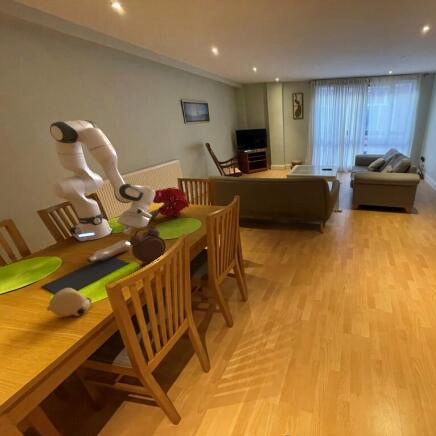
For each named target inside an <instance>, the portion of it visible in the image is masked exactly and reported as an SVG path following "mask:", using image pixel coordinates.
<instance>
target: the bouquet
mask: <svg viewBox="0 0 436 436" xmlns="http://www.w3.org/2000/svg"><path fill="white" fill-rule="evenodd" d="M154 191H155V197H154V200H153V202H152V204H153V203H154V204H162V205H161V206H159V207H158V208H157V209H154V210H152V211H150V212H148V213H149V214H150V215H152V216H151V218H149V220H154V219H155V218H157V216H158V215H159V214H160V215H162V216H164V217H171V216H175V217H176V218H178V216H180V214H181V212H182V211H183V210H185V209H186V208H190V204H189V202H188V199H187V195H186V193H185V192H184V191H182V190H180V189H179V188H176V187H175V186H173V187H167V188H162V189H157V190H154Z"/></svg>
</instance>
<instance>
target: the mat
mask: <svg viewBox="0 0 436 436" xmlns="http://www.w3.org/2000/svg"><path fill="white" fill-rule="evenodd" d="M127 265H129V261H128V262H127V261H124V260H121V259H119V258H115V257H111V258H109V259H108V260H106V261H104V262H96V263H94V264H90V263H88V264H86V265H84V266H82V267H79V268H78V269H75V270H74V271H71V272H69V273H67V274H66V275H63V276H60V277H58V278H56V279H54V280H52V281H50V282H48V283H46V284H44V285H41V288H43V289H45V290H48V291H49V292H51V293H53V294H54V295H55V294H56V293H57V292H59V291H61V290H63V289H65V288H72V289H74V290H76V291H78V292H79V291H80V290H82V289H83V288H85V287H87V286H89V285H91V284H93V283H94V282H96V281H98V280H100V279H102V278H104V277H106V276H108V275H110V274H112V273H113V272H116V271H117V270H119V269H121V268H123V267H125V266H127Z"/></svg>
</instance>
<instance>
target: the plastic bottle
mask: <svg viewBox="0 0 436 436" xmlns="http://www.w3.org/2000/svg"><path fill="white" fill-rule="evenodd" d="M130 249H132V245H131V243H130V241H128V240H125V239H122V240H119V241H118V242H116V243H115V244H112V245H111V246H110V245H109V246H108V247H105V248H102V249H98V250H97V251H95V252H94V253H93V255H91V256H89V257H88V258H86V261H87V262H88V264H94V263H96V262H104V261H106V260H108V259H109V258H111V257H112V258H114V257H115V256H117V255H119V254H122V253H125V252H128V251H129V250H130Z"/></svg>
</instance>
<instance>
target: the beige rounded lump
mask: <svg viewBox="0 0 436 436" xmlns="http://www.w3.org/2000/svg"><path fill="white" fill-rule="evenodd" d="M92 300H93V299H91V298H90V297H86V296H85V295H84V294H82V293H81V292H79V290H78V291H76V290H74V289H72V288H65V289H63V290H61V291H59V292H57V293H56V294H55V293H54V294H53V296H52V297H51V298H50V300H49V304H48V306H47V307H46V310H47V311H51V312H52V314H54V315H56V316H57V317H58V318H59V319H63V317H71V316H74V317H79V316H81V315H83V314H85V313H86V312H87V311H88V310H89V309H90V307H91V306H92V305H91V303H93V301H92Z"/></svg>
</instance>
